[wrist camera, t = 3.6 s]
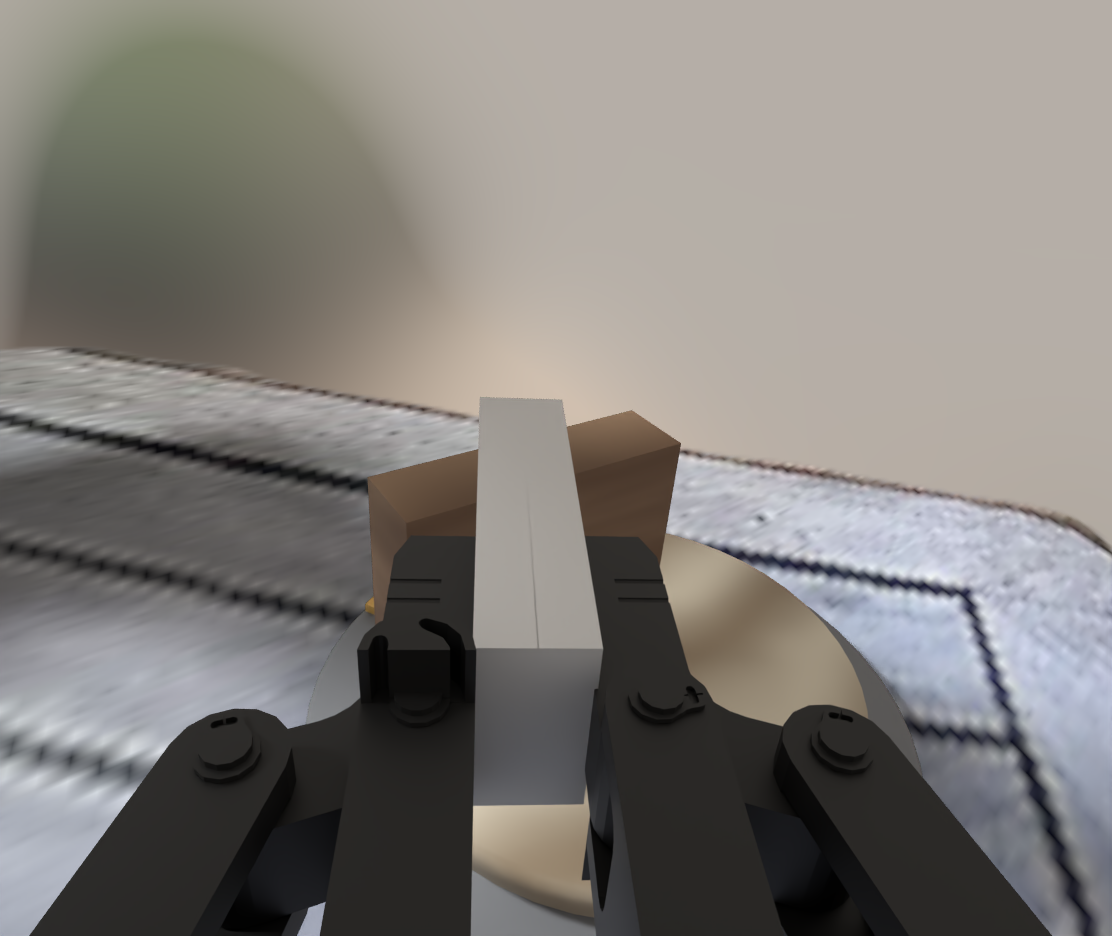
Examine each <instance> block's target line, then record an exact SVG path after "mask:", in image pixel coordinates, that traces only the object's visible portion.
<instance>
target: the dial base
mask: <svg viewBox="0 0 1112 936" xmlns="http://www.w3.org/2000/svg"><path fill="white" fill-rule="evenodd" d="M807 607H808V606H807ZM808 608H809V607H808ZM809 609H810V610H811V611H812V612H813V613H814V614H815V615H816V616H817V617H818V618H819V619H820V620H821V621H822V622H823V623H824V624H825V626H826V627H827V628H828V629H829V631H830V632H831V633H832V635H833V636H834V637H835V638H836V640H837V641H838V642H839V644H840V645H841V647H842V649H843V650H844V652H845V654H846V655H847V657H848V659H849V660H850V662H851V664H852V666H853V668H854V671H855V673H856V675H857V678H858V680H859V682H860V685H861V687H862V691H863V695H864V699H865V703H866V707H867V711H868V719H869V720H871V721H873V722H874V723H875V724H876V725H877V726H878V727H879V728H880V729H881V730H882V731H884V732H885V733H886V734H887V735H888V736H889V737H890V738H891V740H892V741H893V742H894V743H895V744H896V746H897V747H898V748H899V749H900V751H901V752H902V753H903V754H904V755H905V757H906V758H907V759H908V760H909V762H910V763H911V764H912V765H913V766H914V768H915V769H916V770H917V771H918V773H919V774H920V775H921V776H922V771H921V766H920V762H919V759H918V756H917V753H916V749H915V746H914V743H913V739H912V736H911V734H910V732H909V729H908V727H907V725H906V723H905V721H904V719H903V716H902V714H901V712H900V710H899V708H898V706H897V704H896V703H895V701H894V699H893V698H892V696H891V695H890V693H889V691H888V690H887V688H886V687H885V685H884V683H883V682H882V680H881V679H880V677H879V676H878V675H877V674H876V672H875V671H874V670H873V669H872V667H871V666H870V665H869V664H868V662H867V661H866V660H865V659H864V657H863V656H862V655H861V654H860V653H859V652H858V651H857V650H856V649H855V648H854V647H853V646H852V645H851V644H850V643H849V642H848V641H847V640H846V639H845V638H844V637H843V636H842V635H841V634H840V632H839V631H837V630H836V629H835V628H834V627H833V626H831V625H830V624H829V623H828V622H827V621H825V620H824V619H823V618H822V617H821V616H819V615H818V614H817V613H816V612H815V611H813V610H812V609H811V608H809ZM374 626H375V614H374V596H373V597H372V598H371V599H370V600H369V601H368V602H367V603H366V604H365V610H364V611H363V612H362V613H361V614H360V615H359V616H358V617H357V618H356V620H355V621H354V622H353V623H352V624H351V625H350V626H349V627H348V629H347V630H346V631H345V633H344V634H343V635H342V637H341V638H340V640H339V641H338V642H337V644H336V645H335V646H334V648H333V649H332V651H331V653H330V655H329V657H328V659H327V661H326V663H325V665H324V667H323V668H322V670H321V672H320V674H319V676H318V679H317V682H316V685H315V688H314V691H313V694H312V697H311V700H310V703H309V708H308V714H307V720H306V724H309V723H313V722H317V721H320V720H323V719H326V718H328V717H331V716H334V715H336V714H338V713H340V712H341V711H343V710H345V709H346V708H348V707H350V706H351V705H352V704H353V703H355V702H356V701H357V700H358V699H359V698H360V686H359V672H358V659H357V648H358V646H359V644H360V642H361V640H362V638H363V636H364V634H365V633H367V632H368V631H369V630H370V629H371V628H373V627H374ZM471 936H596V929H595V919H594V918H593V917H588V916H582V915H576V914H572V913H568V912H565V911H562V910H558V909H555V908H552V907H549V906H545V905H542V904H539V903H535V902H533V901H531V900H528V899H526V898H524V897H522V896H519V895H517V894H515V893H513V892H510V891H508V890H506V889H504V888H501V887H499V886H497V885H496V884H494V883H493V882H491V881H489V880H488V879H486V878H484V877H483V876H481V875H479V874H478V873H476V872H474V871H473V870H472V898H471Z"/></svg>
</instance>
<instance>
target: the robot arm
mask: <svg viewBox="0 0 1112 936" xmlns="http://www.w3.org/2000/svg"><path fill="white" fill-rule="evenodd" d="M668 599H669V598H668V594H667V591H666V587H665V584H663V576H662V573H661V569H660V566H659V562H658V559H657V556H656V555H655V554H654V553H653V552H652V551H651V550H650V549H649V548H648V547H647V546H646V545H645V543H644V542H643V541H642V540H641V539H640V538H639V537H617V536H584V530H583V523H582V517H581V511H580V505H579V499H578V493H577V487H576V481H575V475H574V469H573V463H572V457H571V451H570V445H569V439H568V433H567V427H566V421H565V414H564V408H563V402H562V400H555V399H554V400H553V399H523V398H490V397H480V410H479V445H478V480H477V514H476V536H414V535H411V536H410V537H409V538H408V540H407V541H406V542H405V543H404V544H403V545H402V547H401V548H400V549H399V550H398V551H397V553H396V554H395V555H394V558H393V564H392V570H391V576H390V583H389V588H388V594H387V603H386V606H385V612H384V617H383V621H380V622H378V623H377V624H376V625H375V626H374V627H373V628H371V629H370V630H369V631H368V632H367V633H365V634H364V636H363V638H362V640H361V642H360V644H359V646H358V648H357V659H358V672H359V686H360V698H359V699H358V700H357V701H356V702H355V703H353V704H352V705H351V706H350V707H348V708H346V709H345V710H343V711H341V712H340V713H338V714H336V715H334V716H331V717H328V718H326V719H323V720H320V721H317V722H313V723H309V724H306V725H302V726H298V727H294V728H290V729H287V728H286V727H285V726H284V725H283V724H282V722H281V721H280V720H279V719H278V718H277V717H276V716H273V715H270V714H268V713H265V712H262V711H260V710H257V709H231V710H227V711H223V712H219V713H215V714H211V715H208V716H207V717H205V718H203V719H201V720H199V721H197V722H195V723H194V724H192V725H190V726H188V727H187V728H186V729H185V730H184V731H183V732H182V733H181V734H180V735H179V736H178V737H177V738H176V739H174V740H173V741H172V742H171V743H170V745H169V746H168V747H167V749H166V750H165V751H164V753H163V754H162V756H161V757H160V758H159V760H158V761H157V762H156V764H155V765H154V766H153V768H152V769H151V771H150V772H149V773H148V775H147V776H146V777H145V779H144V780H143V781H142V783H141V784H140V786H139V787H138V788H137V790H136V791H135V792H134V794H133V795H132V796H131V798H130V799H129V801H128V802H127V803H126V805H125V806H124V807H123V809H122V810H121V811H120V813H119V814H118V816H117V817H116V818H115V820H114V821H113V822H112V824H111V825H110V826H109V828H108V829H107V830H106V832H105V833H104V835H103V836H102V837H101V839H100V840H99V841H98V843H97V844H96V845H95V847H94V848H93V850H92V851H91V852H90V854H89V855H88V856H87V858H86V859H85V860H84V862H83V863H82V865H81V866H80V867H79V869H78V870H77V871H76V873H75V874H74V875H73V877H72V878H71V880H70V881H69V882H68V884H67V885H66V886H65V888H64V889H63V890H62V892H61V893H60V895H59V896H58V897H57V899H56V900H55V901H54V903H53V904H52V905H51V907H50V908H49V910H48V911H47V912H46V914H45V915H44V916H43V918H42V919H41V920H40V922H39V923H38V924H37V926H36V927H35V929H34V930H33V931H32V933H31V934H30V935H29V936H297V934H298V932H299V930H300V928H301V925H302V923H303V921H304V919H305V916H306V914H307V911H308V908H309V907H312V906H315V905H318V904H320V903H323V902H326V903H325V909H324V915H323V920H322V926H321V932H320V936H471V898H472V846H473V806H502V805H578V804H584V798H585V790H586V785H587V794H588V802H589V811H590V818H589V825H588V833H587V840H586V848H585V856H584V863H583V872H582V880H590V881H591V891H592V900H593V910H594V919H595V929H596V936H1052V935H1051V934H1050V933H1049V931H1048V930H1047V929H1046V928H1045V926H1044V925H1043V924H1042V923H1041V922H1040V920H1039V919H1038V918H1037V917H1036V915H1035V914H1034V913H1033V912H1032V911H1031V909H1030V908H1029V907H1028V906H1027V904H1026V903H1025V902H1024V901H1023V900H1022V898H1021V897H1020V896H1019V895H1018V893H1017V892H1016V891H1015V890H1014V889H1013V887H1012V886H1011V885H1010V884H1009V882H1008V881H1007V880H1006V879H1005V878H1004V876H1003V875H1002V874H1001V873H1000V871H999V870H998V869H997V868H996V867H995V865H994V864H993V863H992V862H991V860H990V859H989V858H988V857H987V856H986V854H985V853H984V852H983V851H982V849H981V848H980V847H979V846H978V845H977V843H976V842H975V841H974V840H973V838H972V837H971V836H970V835H969V834H968V832H967V831H966V830H965V829H964V827H963V826H962V825H961V824H960V823H959V821H958V820H957V819H956V818H955V817H954V815H953V814H952V813H951V812H950V810H949V809H948V808H947V807H946V806H945V804H944V803H943V802H942V801H941V799H940V798H939V797H938V796H937V795H936V793H935V792H934V791H933V790H932V788H931V787H930V786H929V785H928V784H927V782H926V781H925V780H924V779H923V777H922V776H921V775H920V774H919V773H918V771H917V770H916V769H915V768H914V766H913V765H912V764H911V763H910V762H909V760H908V759H907V758H906V757H905V755H904V754H903V753H902V752H901V751H900V749H899V748H898V747H897V746H896V744H895V743H894V742H893V741H892V740H891V738H890V737H889V736H888V735H887V734H886V733H885V732H884V731H882V730H881V729H880V728H879V727H878V726H877V725H876V724H875V723H874V722H873V721H871V720H869V719H867V718H865V717H864V716H862V715H860V714H858V713H856V712H854V711H852V710H849V709H845V708H841V707H837V706H833V705H808V706H806V707H804V708H801V709H799V710H797V711H794V712H793V713H792V714H791V715H790V717H789V718H788V719H787V721H786V722H785V723H784V725H783V726H780V725H776V724H772V723H768V722H764V721H760V720H756V719H752V718H749V717H745V716H742V715H740V714H737V713H734V712H731V711H729V710H727V709H725V708H724V707H722V706H720V705H718V704H716V703H715V702H714V701H713V699H712V698H711V696H710V694H709V692H708V691H707V689H706V687H705V686H704V685H703V684H702V683H700V682H699V681H698V680H697V679H696V678H695V677H693V676H692V675H691V673H690V671H689V668H688V665H687V661H686V658H685V654H684V650H683V647H682V643H681V640H680V636H679V633H678V629H677V626H676V622H675V619H674V615H673V612H672V608H671V605H670V603H669V601H668Z"/></svg>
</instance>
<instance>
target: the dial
mask: <svg viewBox="0 0 1112 936" xmlns="http://www.w3.org/2000/svg"><path fill="white" fill-rule="evenodd" d="M567 433H568V439H569V445H570V451H571V457H572V463H573V469H574V475H575V481H576V487H577V493H578V499H579V505H580V511H581V517H582V523H583V530H584V536H617V537H639V538H640V539H641V540H642V541H643V542H644V543H645V545H646V546H647V547H648V548H649V549H650V550H651V551H652V552H653V553H654V554H655V555H656V556H657V559H658V562H659V566H660V569H661V573H662V576H663V584H665V587H666V591H667V594H668V598H669V599H668V601H669V603H670V605H671V608H672V612H673V615H674V619H675V622H676V626H677V629H678V633H679V636H680V640H681V643H682V647H683V650H684V654H685V658H686V661H687V665H688V668H689V671H690V673H691V675H692V676H693V677H695V678H696V679H697V680H698V681H699V682H700V683H702V684H703V685H704V686H705V687H706V689H707V691H708V692H709V694H710V696H711V698H712V699H713V701H714V702H715V703H716V704H718V705H720V706H722V707H724V708H725V709H727V710H729V711H731V712H734V713H737V714H740V715H742V716H745V717H749V718H752V719H756V720H760V721H764V722H768V723H772V724H776V725H780V726H783V725H784V723H785V722H786V721H787V719H788V718H789V717H790V715H791V714H792V713H793V712H794V711H797V710H799V709H801V708H804V707H806V706H808V705H833V706H837V707H841V708H845V709H849V710H852V711H854V712H856V713H858V714H860V715H862V716H864V717H865V718H867V719H868V711H867V707H866V703H865V699H864V695H863V691H862V687H861V685H860V682H859V680H858V678H857V675H856V673H855V671H854V668H853V666H852V664H851V662H850V660H849V659H848V657H847V655H846V654H845V652H844V650H843V649H842V647H841V645H840V644H839V642H838V641H837V640H836V638H835V637H834V636H833V635H832V633H831V632H830V631H829V629H828V628H827V627H826V626H825V624H824V623H823V622H822V621H821V620H820V619H819V618H818V617H817V616H816V615H815V614H814V613H813V612H812V611H811V610H810V609H809V608H808V607H807V606H806V605H805V604H804V603H803V602H802V601H800V600H799V599H798V598H797V597H796V596H794V595H793V594H792V593H791V592H789V591H788V590H787V589H786V588H784V587H783V586H781V585H780V584H779V583H777V582H776V581H774V580H773V579H771V578H770V577H768V576H767V575H765V574H764V573H762V572H760V571H759V570H757V569H755V568H753V567H751V566H750V565H748V564H746V563H744V562H743V561H741V560H738V559H736V558H734V557H732V556H730V555H728V554H725V553H723V552H721V551H719V550H716V549H714V548H711V547H708V546H706V545H703V544H700V543H697V542H695V541H691V540H688V539H684V538H681V537H678V536H674V535H671V534H666V527H667V522H668V516H669V510H670V504H671V498H672V492H673V487H674V481H675V475H676V469H677V463H678V458H679V452H680V446H681V443H680V442H678V441H677V440H675V439H674V438H672V437H671V436H669V435H668V434H666V433H665V432H663V431H662V430H660V429H659V428H657V427H656V426H654V425H652V424H651V423H650V422H648V421H647V420H645V419H644V418H642V417H641V416H639V415H638V414H637V413H635V412H633V411H627V412H624V413H619V414H616V415H612V416H608V417H604V418H600V419H596V420H592V421H588V422H584V423H580V424H576V425H572V426H568V427H567ZM477 480H478V449H477V450H473V451H469V452H465V453H461V454H457V455H454V456H450V457H446V458H442V459H438V460H434V461H430V462H426V463H422V464H418V465H414V466H410V467H406V468H402V469H398V470H394V471H390V472H386V473H382V474H378V475H375V476H371V477H368V494H369V514H370V534H371V554H372V574H373V594H374V614H375V625H376V624H377V623H378V622H380V621H383V617H384V612H385V606H386V603H387V594H388V588H389V583H390V576H391V570H392V564H393V558H394V555H395V554H396V553H397V551H398V550H399V549H400V548H401V547H402V545H403V544H404V543H405V542H406V541H407V540H408V538H409V537H410V536H411V535H414V536H476V514H477ZM589 818H590V811H589V802H588V794H587V785H586V790H585V798H584V804H578V805H502V806H473V846H472V870H473V871H474V872H476V873H478V874H479V875H481V876H483V877H484V878H486V879H488V880H489V881H491V882H493V883H494V884H496V885H497V886H499V887H501V888H504V889H506V890H508V891H510V892H513V893H515V894H517V895H519V896H522V897H524V898H526V899H528V900H531V901H533V902H535V903H539V904H542V905H545V906H549V907H552V908H555V909H558V910H562V911H565V912H568V913H572V914H576V915H582V916H588V917H593V918H594V910H593V900H592V891H591V881H590V880H582V872H583V863H584V856H585V848H586V840H587V833H588V825H589Z"/></svg>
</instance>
